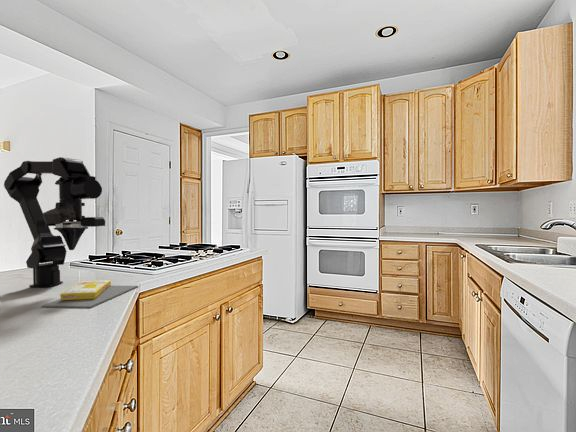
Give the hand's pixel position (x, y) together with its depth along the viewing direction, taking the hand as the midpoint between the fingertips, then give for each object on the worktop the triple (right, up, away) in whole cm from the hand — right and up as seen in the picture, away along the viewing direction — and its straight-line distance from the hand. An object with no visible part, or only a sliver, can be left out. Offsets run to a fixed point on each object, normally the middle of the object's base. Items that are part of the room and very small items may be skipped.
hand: (71, 250), depth 101 cm
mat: (+12, -12, -9) cm, 19 cm away
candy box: (+5, -11, -8) cm, 14 cm away
